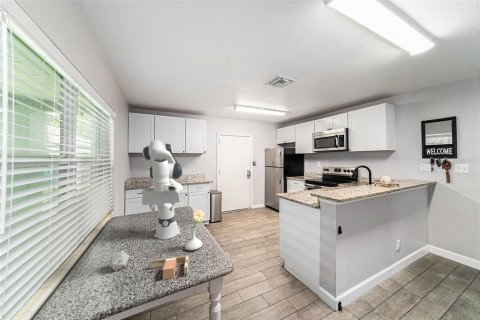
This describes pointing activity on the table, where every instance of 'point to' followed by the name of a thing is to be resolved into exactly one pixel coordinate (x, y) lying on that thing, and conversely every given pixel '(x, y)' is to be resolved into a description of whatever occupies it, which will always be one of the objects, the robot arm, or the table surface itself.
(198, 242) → the flower in vase
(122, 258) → the die
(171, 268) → the block
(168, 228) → the robot arm
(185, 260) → the wooden corner bracket
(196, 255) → the table surface
